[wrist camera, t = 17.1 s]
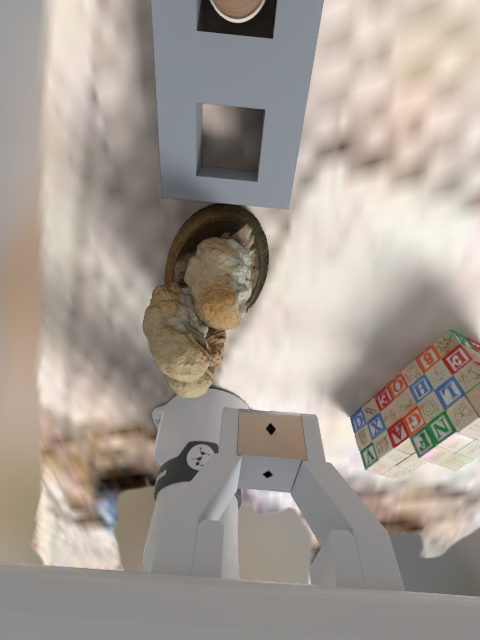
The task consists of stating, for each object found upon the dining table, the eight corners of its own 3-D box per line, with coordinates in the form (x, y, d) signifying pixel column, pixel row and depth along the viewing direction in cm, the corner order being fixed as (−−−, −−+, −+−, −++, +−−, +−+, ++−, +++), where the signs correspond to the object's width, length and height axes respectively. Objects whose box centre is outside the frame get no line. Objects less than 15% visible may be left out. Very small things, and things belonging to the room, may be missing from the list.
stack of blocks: (378, 428, 57) (404, 502, 48) (348, 417, 56) (369, 491, 46) (483, 344, 46) (546, 419, 36) (449, 327, 44) (505, 400, 34)
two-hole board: (285, 197, 35) (288, 209, 32) (170, 186, 35) (161, 197, 32) (332, -99, 23) (345, -126, 20) (158, -118, 23) (142, -150, 20)
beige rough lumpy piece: (240, 340, 47) (233, 450, 33) (157, 318, 45) (113, 425, 32) (287, 219, 36) (305, 308, 23) (181, 186, 35) (131, 260, 21)
